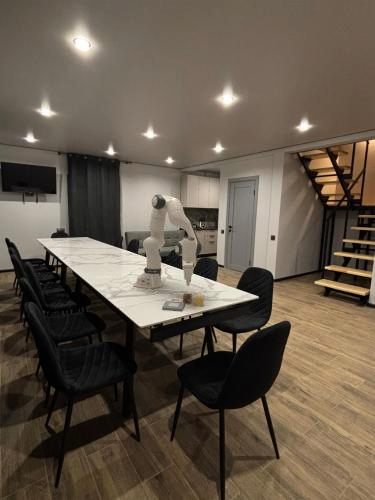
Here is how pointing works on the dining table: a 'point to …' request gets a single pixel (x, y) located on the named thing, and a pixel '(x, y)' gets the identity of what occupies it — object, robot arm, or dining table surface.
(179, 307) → the plate
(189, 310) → the dining table surface
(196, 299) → the block
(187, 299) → the block
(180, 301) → the page
